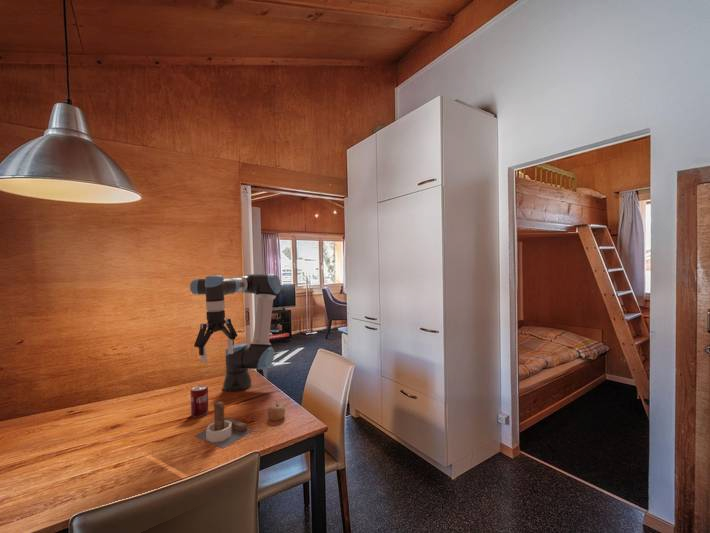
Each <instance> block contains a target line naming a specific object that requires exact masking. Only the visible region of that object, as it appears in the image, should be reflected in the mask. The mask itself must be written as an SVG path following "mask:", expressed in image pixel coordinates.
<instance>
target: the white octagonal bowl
mask: <svg viewBox="0 0 710 533" xmlns="http://www.w3.org/2000/svg"><path fill="white" fill-rule="evenodd" d="M205 430H206V440H208V441H210V442H219V441H223V440H225V439H227V438H229V437H231V434H232V422H230V421H227V420H224V429H223V430H219V431H215V421H214V422H212V423H210V424H208V425H207V426H206V429H205Z"/></svg>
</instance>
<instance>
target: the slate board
mask: <svg viewBox="0 0 710 533" xmlns="http://www.w3.org/2000/svg"><path fill="white" fill-rule="evenodd" d="M252 432H254V430H252V429H249V428H247V430H246V431H244V432H242V433H241V432H238V431H236V430H233V429H232V434H231V437H229V438H227V439H225V440H223V441H219V442H210V441H208V440H206V429H204V430H203V431H201V432H199V433H197V434H195V435H194V437H195V438H197V439H200V440H201V441H204V442H207V443H209V444H211V445H213V446H216V447H219V448H220V449H225V448H226V447H228V446H230V445H232V444H234V443H235V442H237V441H239V440H240V439H242V438H244V437H246V436H247V435H249V434H251V433H252Z"/></svg>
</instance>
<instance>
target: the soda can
mask: <svg viewBox="0 0 710 533" xmlns="http://www.w3.org/2000/svg"><path fill="white" fill-rule="evenodd" d="M189 393H190V416H191V417H193V418H200V417H204V416H205V415H207V414H208V413H209V387H208V385H204V384H200V385H197V386H194V387H192V388H191V389H190V392H189Z"/></svg>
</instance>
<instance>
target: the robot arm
mask: <svg viewBox="0 0 710 533" xmlns="http://www.w3.org/2000/svg"><path fill="white" fill-rule="evenodd" d="M281 284H282V282H281V280H280V277H279V276H278V275H277V274H276V273H275V274H274V273H257V274H256V273H253V274H246V275H238V276H236V277H226V278H225V277H224V276H223V275H219V274H215V275H206V276H205V278H196V279H193V280H191V281H190V284H189V290H190V292H191V293H192V294H193V295H198V296H200V295H203V296H204V295H205V307H206V312H205V313H206V321H207V322H206V323H200V326H199V327H200V328H199V331H198V334H197V337H196V340H195V342H194V344H193V347H194V348H198V354H199V356H200V361H201V362H200V363H204V364H207V347H205V346H206V345H207V343H208V341H209V339H210V338H211V337H212V335H213V334H214V333H216V332H221V331H222V333H223V334H224V335H225V337H227V338H228V339H227V340H226V341H227V348H226V349H225V355H224V357H225V376H224V381H223V384H222V389H223V391H227V392H239V391H243V390H246V389H248V388H250V387H251V386H252V378H251V375H250V374H249V370H250V369H251V370H266V369H269V368H270V367H271V365H272V364H273V362H274V359H275V348H273V347H272V343H271V342H270V335H271V334H270V333H271V323H272V315H273V306H274V300H275V299H276V298H277V294H279V293H280V292H281V290H282V285H281ZM235 293H241V294H243V293H244V294H245V293H246V294H255V297H256V298H257V306H256V313H255V323H254V331H253V340H252V341H251V342H250V343H249V346H248V343H237V344H235V341H234V340H236V338H238V334H237V331H236V329H235V328H234V325H233V324H232V320H231V318H226V310H225V295H233V294H235Z"/></svg>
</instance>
